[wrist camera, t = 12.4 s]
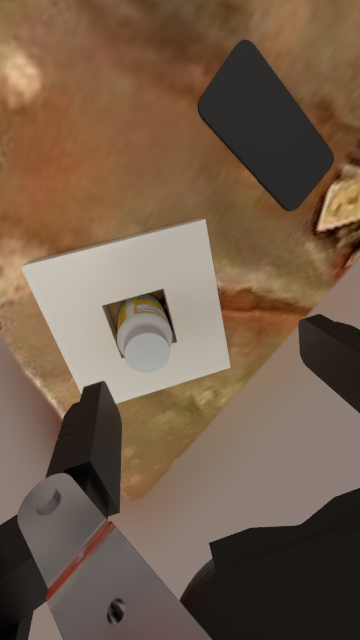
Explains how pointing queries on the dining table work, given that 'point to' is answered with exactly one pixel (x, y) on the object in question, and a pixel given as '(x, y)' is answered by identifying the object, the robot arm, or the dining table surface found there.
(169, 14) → the dining table surface
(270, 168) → the phone
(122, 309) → the supplement bottle
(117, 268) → the socket block
